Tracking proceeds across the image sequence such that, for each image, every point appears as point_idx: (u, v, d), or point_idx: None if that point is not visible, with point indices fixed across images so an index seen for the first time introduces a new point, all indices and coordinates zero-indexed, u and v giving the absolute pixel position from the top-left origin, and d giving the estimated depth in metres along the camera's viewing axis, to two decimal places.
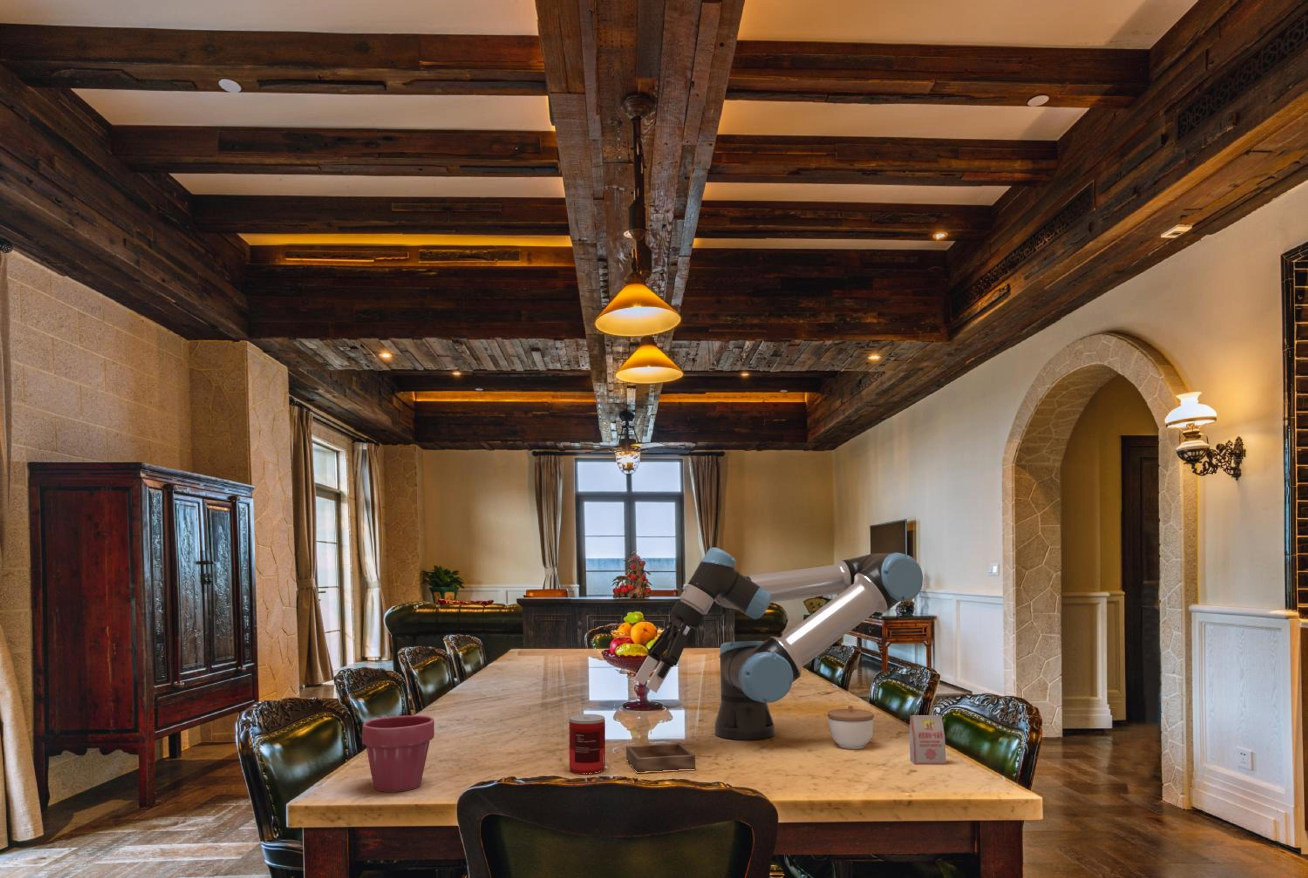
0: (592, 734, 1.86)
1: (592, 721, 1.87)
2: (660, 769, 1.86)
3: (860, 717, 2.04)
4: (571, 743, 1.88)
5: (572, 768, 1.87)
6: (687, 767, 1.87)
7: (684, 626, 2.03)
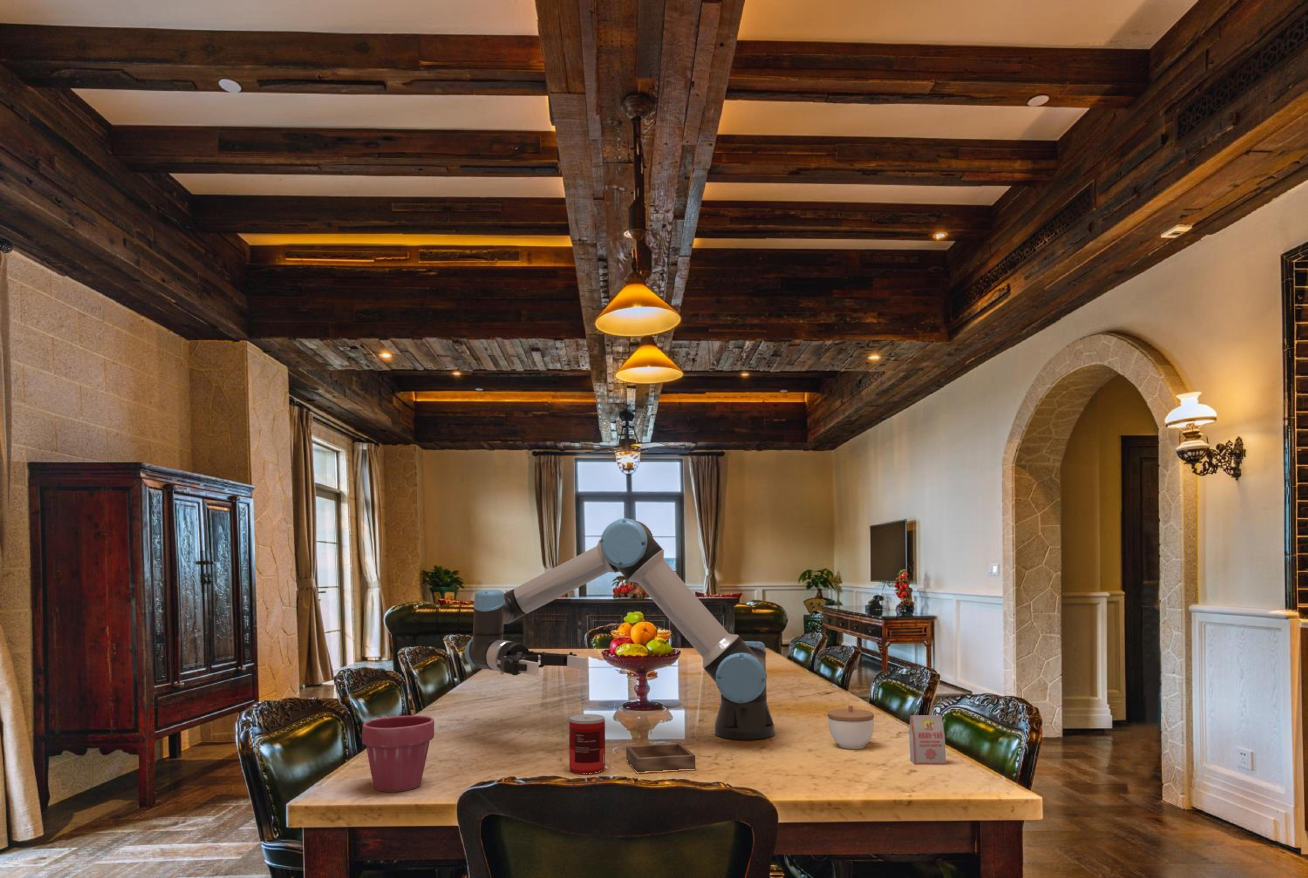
0: (592, 734, 1.86)
1: (592, 721, 1.87)
2: (660, 769, 1.86)
3: (860, 717, 2.04)
4: (571, 743, 1.88)
5: (572, 768, 1.87)
6: (687, 767, 1.87)
7: (497, 665, 2.05)
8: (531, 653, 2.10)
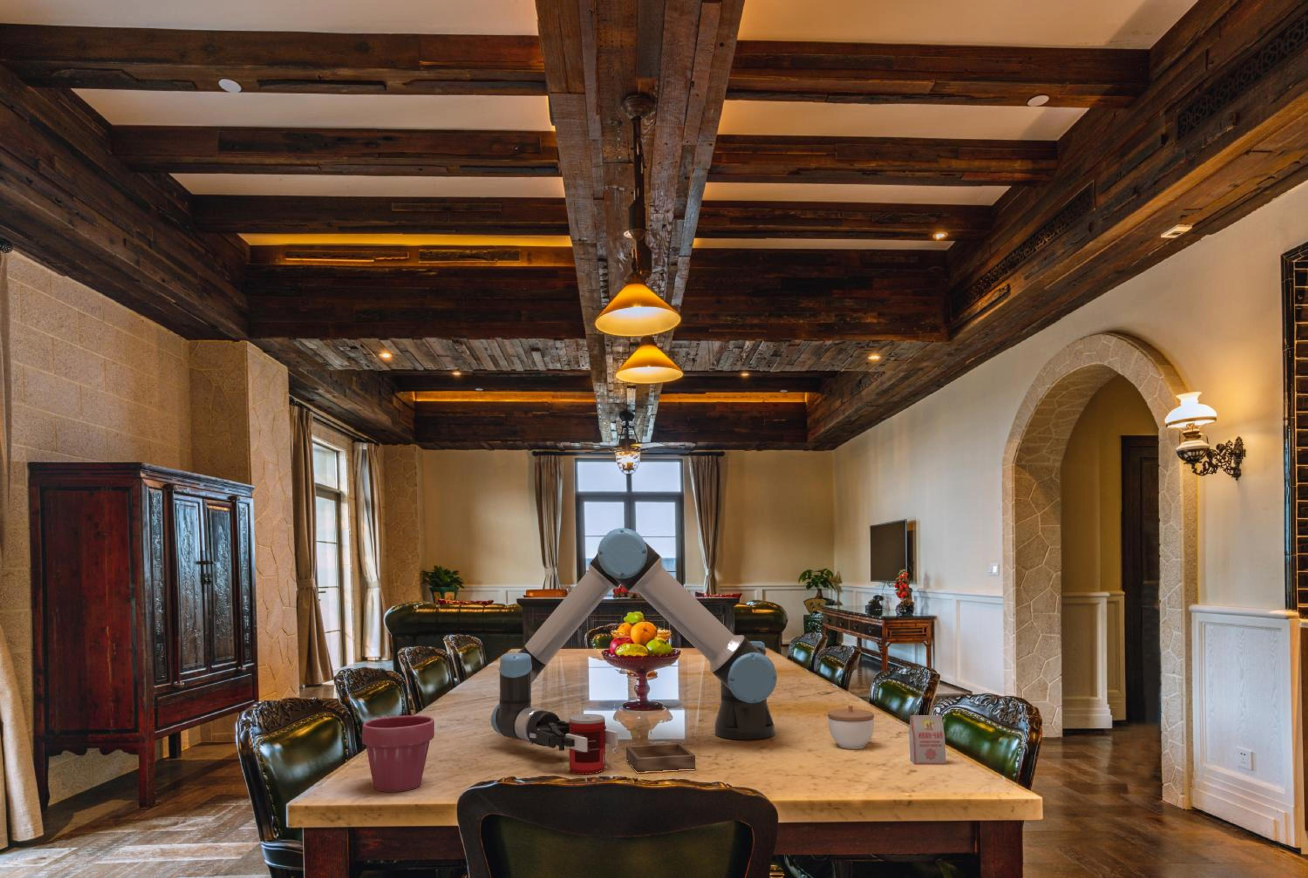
0: (592, 734, 1.86)
1: (592, 721, 1.87)
2: (660, 769, 1.86)
3: (860, 717, 2.04)
4: None
5: (572, 768, 1.87)
6: (687, 767, 1.87)
7: (530, 739, 1.94)
8: (561, 723, 1.98)
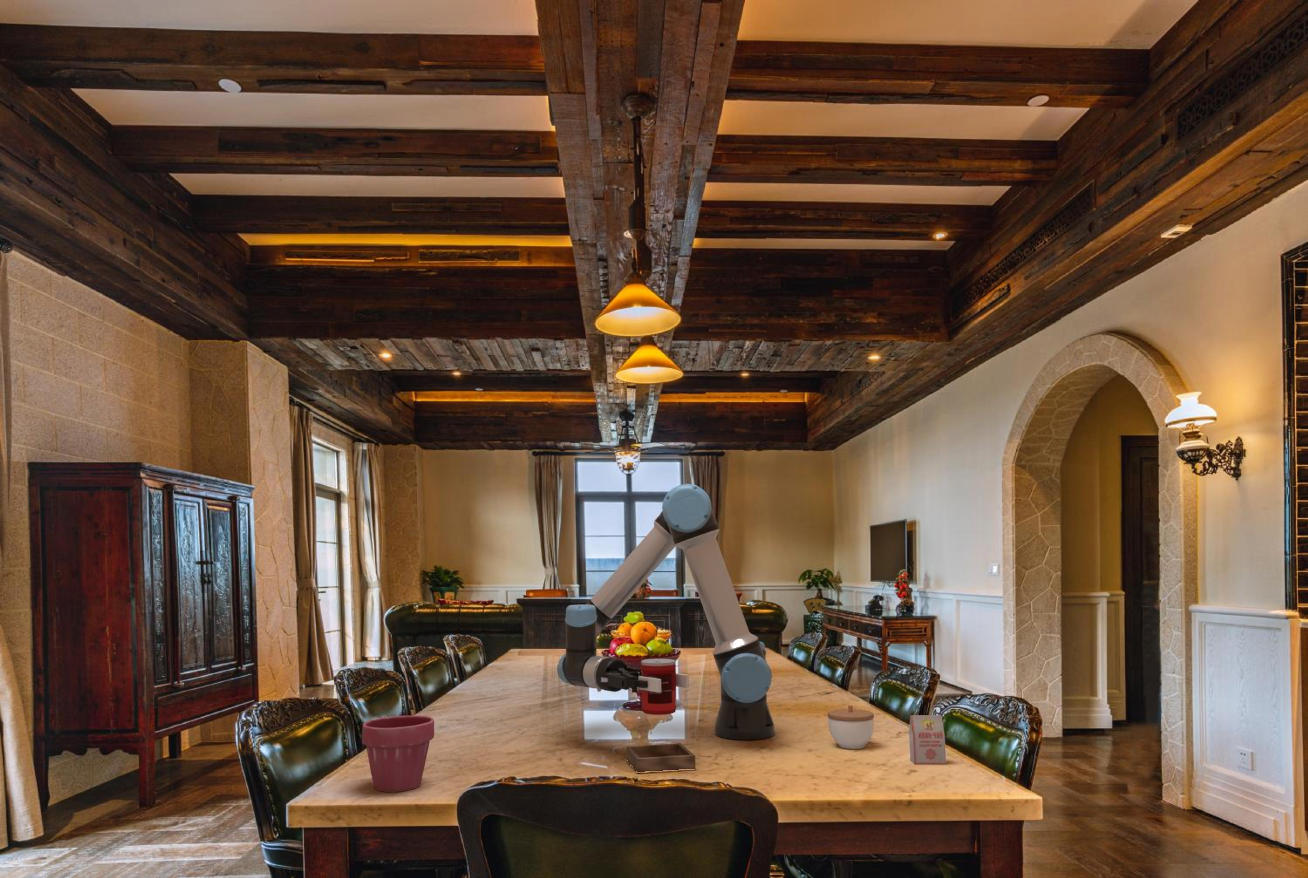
0: (665, 676, 1.91)
1: (664, 663, 1.92)
2: (660, 769, 1.86)
3: (860, 717, 2.04)
4: None
5: (645, 709, 1.92)
6: (687, 767, 1.87)
7: (601, 683, 1.98)
8: (630, 669, 2.03)
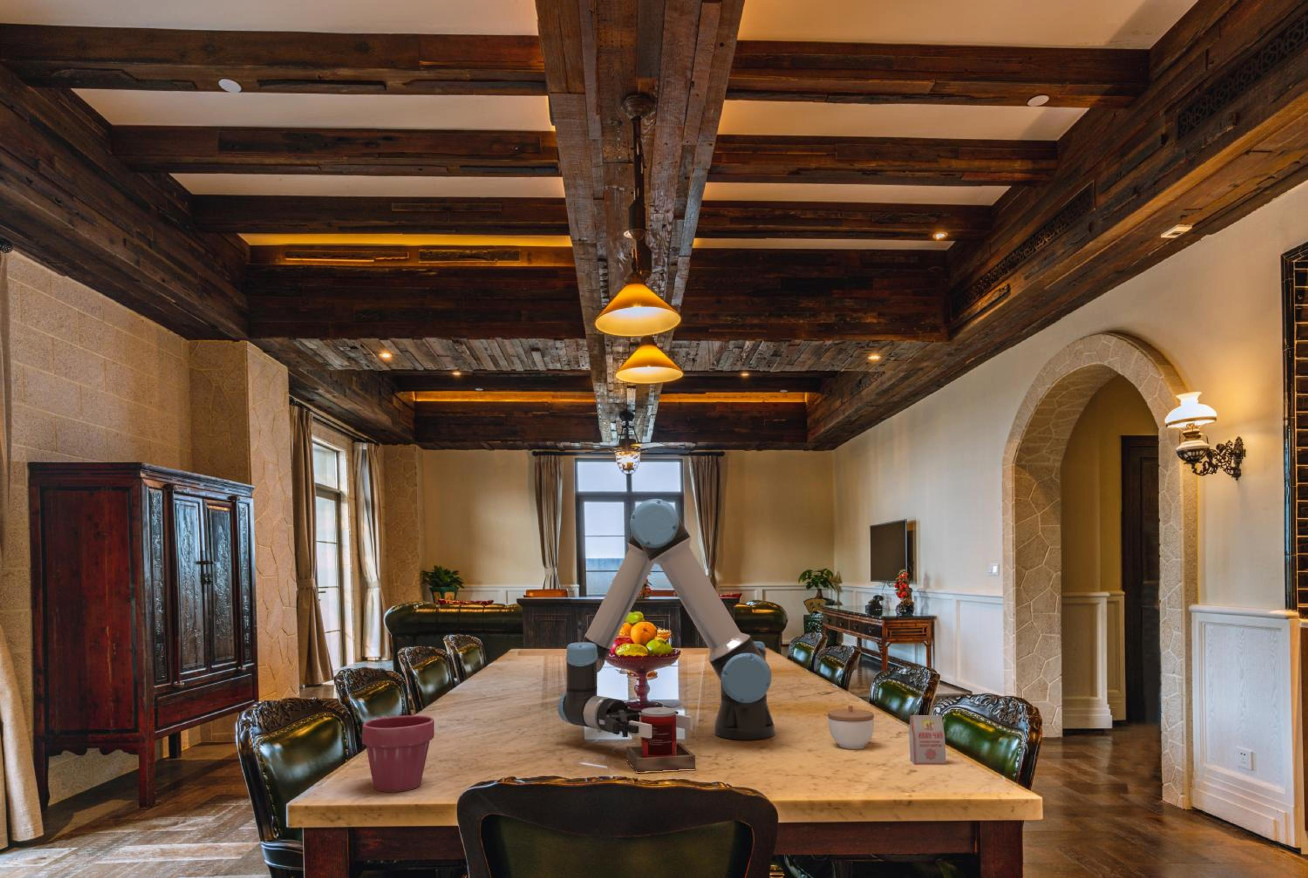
0: (665, 727, 1.90)
1: (665, 714, 1.90)
2: (660, 769, 1.86)
3: (860, 717, 2.04)
4: None
5: None
6: (687, 767, 1.87)
7: (599, 725, 1.98)
8: (632, 711, 2.02)
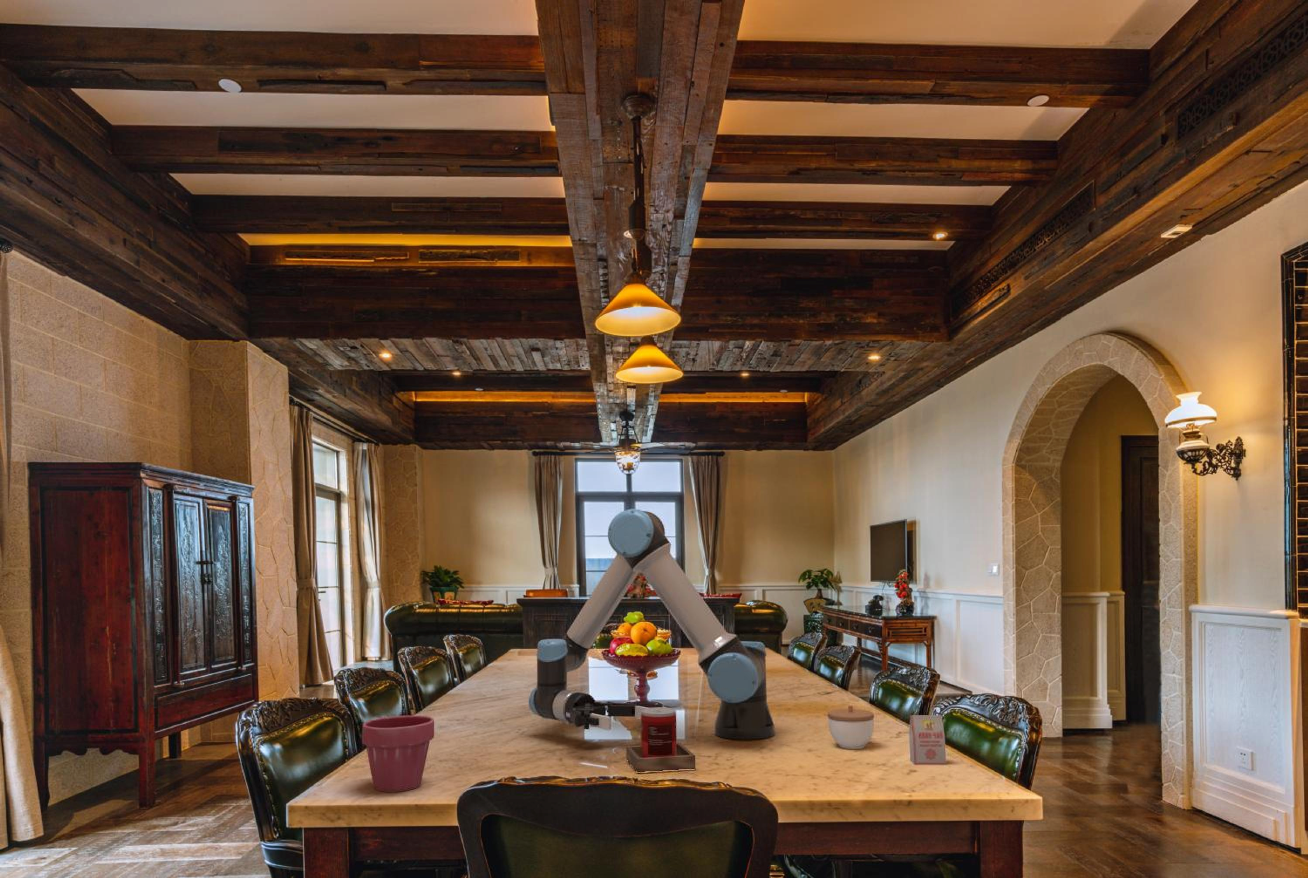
0: (665, 727, 1.90)
1: (665, 714, 1.90)
2: (660, 769, 1.86)
3: (860, 717, 2.04)
4: (643, 735, 1.91)
5: None
6: (687, 767, 1.87)
7: (566, 718, 2.07)
8: (598, 704, 2.11)
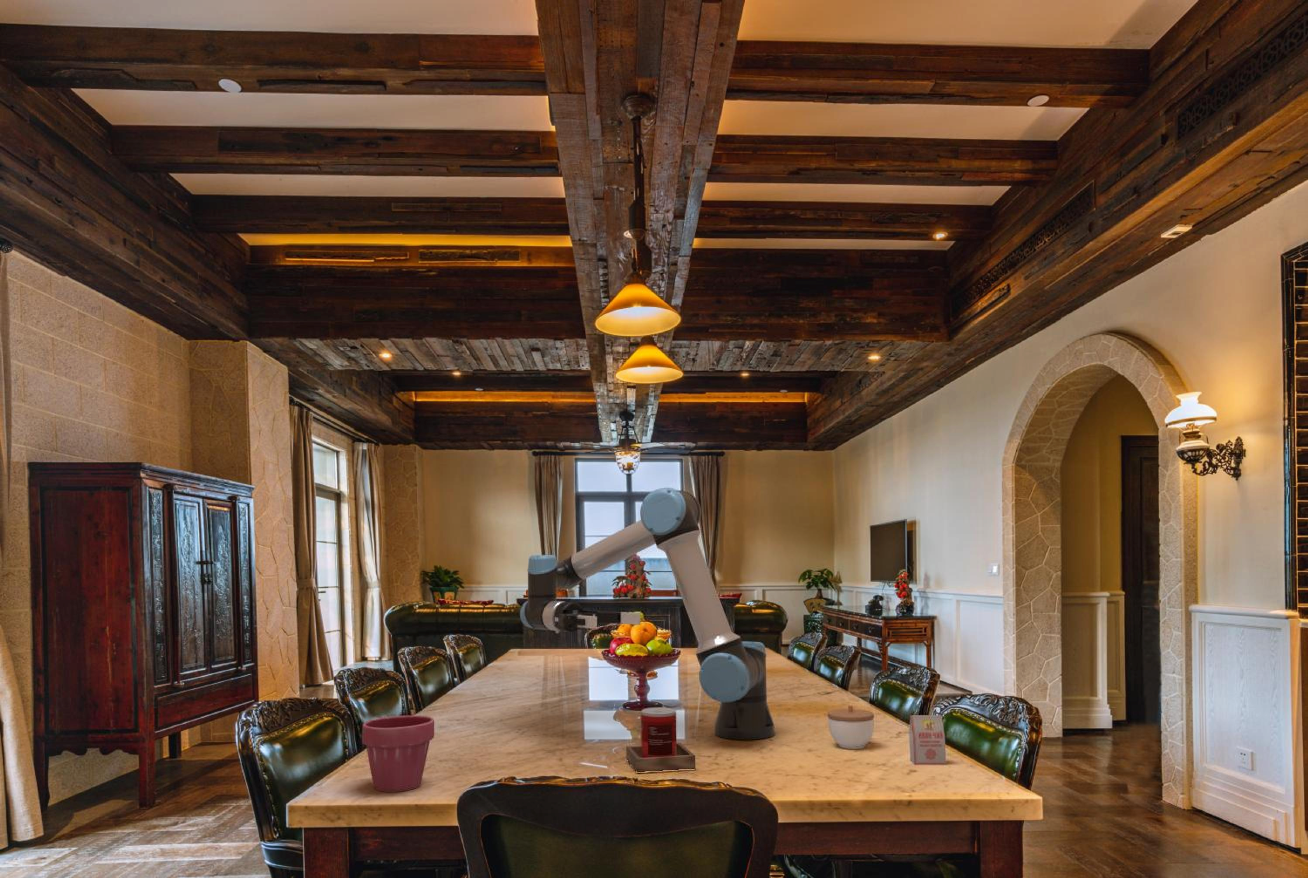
0: (665, 727, 1.90)
1: (665, 714, 1.90)
2: (660, 769, 1.86)
3: (860, 717, 2.04)
4: (643, 735, 1.91)
5: None
6: (687, 767, 1.87)
7: (555, 622, 2.16)
8: (586, 611, 2.21)
